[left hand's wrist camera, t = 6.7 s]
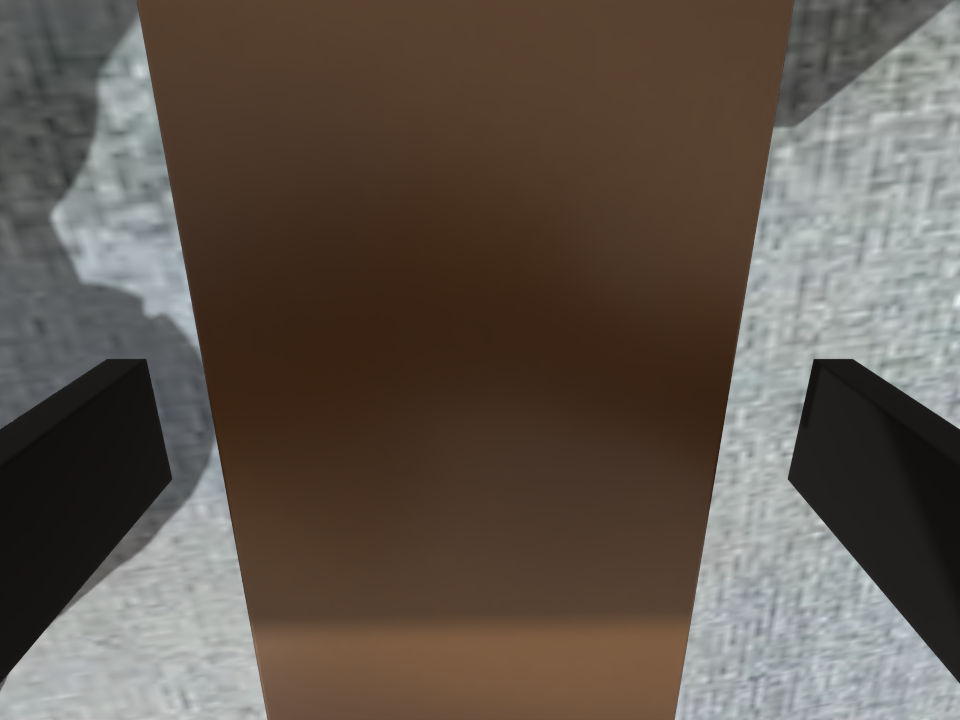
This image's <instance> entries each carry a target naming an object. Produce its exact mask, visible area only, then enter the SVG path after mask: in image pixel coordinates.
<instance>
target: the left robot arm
mask: <svg viewBox="0 0 960 720" xmlns="http://www.w3.org/2000/svg"><path fill="white" fill-rule="evenodd" d="M171 480H172V475H171V471H170V466H169V462H168V457H167V452H166V448H165V443H164V439H163V434H162V430H161V425H160V420H159V416H158V411H157V407H156V402H155V397H154V393H153V388H152V384H151V379H150V374H149V370H148V365H147V361H146V359H107V360H105V361H104V362H102V363H100V364H99V365H97V366H96V367H94V368H93V369H91V370H90V371H88V372H87V373H85V374H84V375H82V376H81V377H79V378H78V379H76V380H75V381H73V382H72V383H70V384H69V385H67V386H66V387H64V388H62V389H61V390H59V391H58V392H56V393H55V394H53V395H52V396H50V397H49V398H47V399H46V400H44V401H43V402H41V403H40V404H38V405H37V406H35V407H34V408H32V409H31V410H29V411H27V412H26V413H24V414H23V415H21V416H20V417H18V418H17V419H15V420H14V421H12V422H11V423H9V424H8V425H6V426H5V427H3V428H2V429H0V683H1V682H2V681H3V679H4V678H5V677H6V676H7V675H8V674H9V672H10V671H11V670H12V669H13V668H14V666H15V665H16V664H17V663H18V662H19V660H20V659H21V658H22V657H23V656H24V655H25V653H26V652H27V651H28V650H29V649H30V647H31V646H32V645H33V644H34V643H35V642H36V640H37V639H38V638H39V637H40V636H41V634H42V633H43V632H44V631H45V630H46V628H47V627H48V626H49V625H50V624H51V623H52V621H53V620H54V619H55V618H56V617H57V615H58V614H59V613H60V612H61V611H62V609H63V608H64V607H65V606H66V605H67V604H68V602H69V601H70V600H71V599H72V598H73V596H74V595H75V594H76V593H77V592H78V590H79V589H80V588H81V587H82V586H83V585H84V583H85V582H86V581H87V580H88V579H89V577H90V576H91V575H92V574H93V573H94V571H95V570H96V569H97V568H98V567H99V566H100V564H101V563H102V562H103V561H104V560H105V558H106V557H107V556H108V555H109V554H110V552H111V551H112V550H113V549H114V548H115V547H116V545H117V544H118V543H119V542H120V541H121V539H122V538H123V537H124V536H125V535H126V534H127V532H128V531H129V530H130V529H131V528H132V526H133V525H134V524H135V523H136V522H137V520H138V519H139V518H140V517H141V516H142V515H143V513H144V512H145V511H146V510H147V509H148V507H149V506H150V505H151V504H152V503H153V501H154V500H155V499H156V498H157V497H158V496H159V494H160V493H161V492H162V491H163V490H164V488H165V487H166V486H167V485H168V484H169V482H170V481H171ZM788 480H789V481H790V482H791V484H792V485H793V486H794V487H795V488H796V490H797V491H798V492H799V493H800V494H801V496H802V497H803V498H804V499H805V500H806V501H807V503H808V504H809V505H810V506H811V507H812V509H813V510H814V511H815V512H816V513H817V515H818V516H819V517H820V518H821V519H822V520H823V522H824V523H825V524H826V525H827V526H828V528H829V529H830V530H831V531H832V532H833V534H834V535H835V536H836V537H837V538H838V539H839V541H840V542H841V543H842V544H843V545H844V547H845V548H846V549H847V550H848V551H849V552H850V554H851V555H852V556H853V557H854V558H855V560H856V561H857V562H858V563H859V564H860V566H861V567H862V568H863V569H864V570H865V571H866V573H867V574H868V575H869V576H870V577H871V579H872V580H873V581H874V582H875V583H876V585H877V586H878V587H879V588H880V589H881V590H882V592H883V593H884V594H885V595H886V596H887V598H888V599H889V600H890V601H891V602H892V604H893V605H894V606H895V607H896V608H897V609H898V611H899V612H900V613H901V614H902V615H903V617H904V618H905V619H906V620H907V621H908V623H909V624H910V625H911V626H912V627H913V628H914V630H915V631H916V632H917V633H918V634H919V636H920V637H921V638H922V639H923V640H924V642H925V643H926V644H927V645H928V646H929V647H930V649H931V650H932V651H933V652H934V653H935V655H936V656H937V657H938V658H939V659H940V660H941V662H942V663H943V664H944V665H945V666H946V668H947V669H948V670H949V671H950V672H951V674H952V675H953V676H954V677H955V678H956V679H957V681H958V682H959V683H960V429H958V428H957V427H955V426H954V425H952V424H951V423H949V422H948V421H946V420H945V419H943V418H942V417H940V416H939V415H937V414H936V413H934V412H933V411H931V410H929V409H928V408H926V407H925V406H923V405H922V404H920V403H919V402H917V401H916V400H914V399H913V398H911V397H910V396H908V395H907V394H905V393H904V392H902V391H901V390H899V389H898V388H896V387H894V386H893V385H891V384H890V383H888V382H887V381H885V380H884V379H882V378H881V377H879V376H878V375H876V374H875V373H873V372H872V371H870V370H869V369H867V368H866V367H864V366H863V365H861V364H860V363H858V362H856V361H855V360H853V359H814V361H813V365H812V370H811V374H810V379H809V384H808V388H807V393H806V397H805V402H804V407H803V411H802V416H801V420H800V425H799V430H798V434H797V439H796V443H795V448H794V452H793V457H792V462H791V466H790V471H789V475H788Z"/></svg>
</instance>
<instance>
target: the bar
mask: <svg viewBox="0 0 960 720" xmlns="http://www.w3.org/2000/svg"><path fill="white" fill-rule="evenodd" d="M137 4H138V10H139V15H140V21H141V26H142V32H143V37H144V43H145V48H146V54H147V59H148V65H149V70H150V76H151V81H152V87H153V92H154V98H155V103H156V109H157V114H158V120H159V125H160V131H161V136H162V142H163V147H164V153H165V158H166V164H167V169H168V175H169V180H170V186H171V191H172V197H173V202H174V208H175V213H176V219H177V224H178V230H179V235H180V241H181V246H182V252H183V257H184V263H185V268H186V274H187V279H188V285H189V290H190V296H191V301H192V307H193V312H194V318H195V323H196V329H197V334H198V340H199V345H200V351H201V356H202V362H203V367H204V373H205V378H206V384H207V389H208V395H209V400H210V406H211V411H212V417H213V422H214V428H215V433H216V439H217V444H218V450H219V455H220V461H221V466H222V472H223V477H224V483H225V488H226V494H227V499H228V505H229V510H230V516H231V521H232V527H233V532H234V538H235V543H236V549H237V554H238V560H239V565H240V571H241V576H242V582H243V587H244V593H245V598H246V604H247V609H248V615H249V620H250V626H251V631H252V637H253V642H254V648H255V653H256V659H257V664H258V670H259V675H260V681H261V686H262V692H263V697H264V703H265V708H266V714H267V719H268V720H675V714H676V708H677V702H678V696H679V690H680V684H681V678H682V672H683V666H684V660H685V654H686V648H687V642H688V636H689V630H690V624H691V618H692V612H693V606H694V600H695V594H696V588H697V582H698V576H699V570H700V564H701V558H702V552H703V546H704V540H705V534H706V528H707V522H708V516H709V510H710V504H711V498H712V492H713V486H714V480H715V474H716V468H717V462H718V455H719V449H720V443H721V437H722V431H723V425H724V419H725V413H726V407H727V401H728V395H729V389H730V383H731V377H732V371H733V365H734V359H735V353H736V347H737V341H738V335H739V329H740V323H741V317H742V311H743V305H744V299H745V293H746V287H747V281H748V275H749V269H750V263H751V257H752V251H753V245H754V239H755V233H756V227H757V221H758V215H759V209H760V203H761V197H762V191H763V185H764V179H765V173H766V167H767V161H768V155H769V149H770V143H771V137H772V131H773V125H774V119H775V113H776V107H777V101H778V95H779V89H780V83H781V77H782V71H783V65H784V59H785V53H786V47H787V41H788V35H789V29H790V23H791V17H792V11H793V5H794V0H137Z"/></svg>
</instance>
